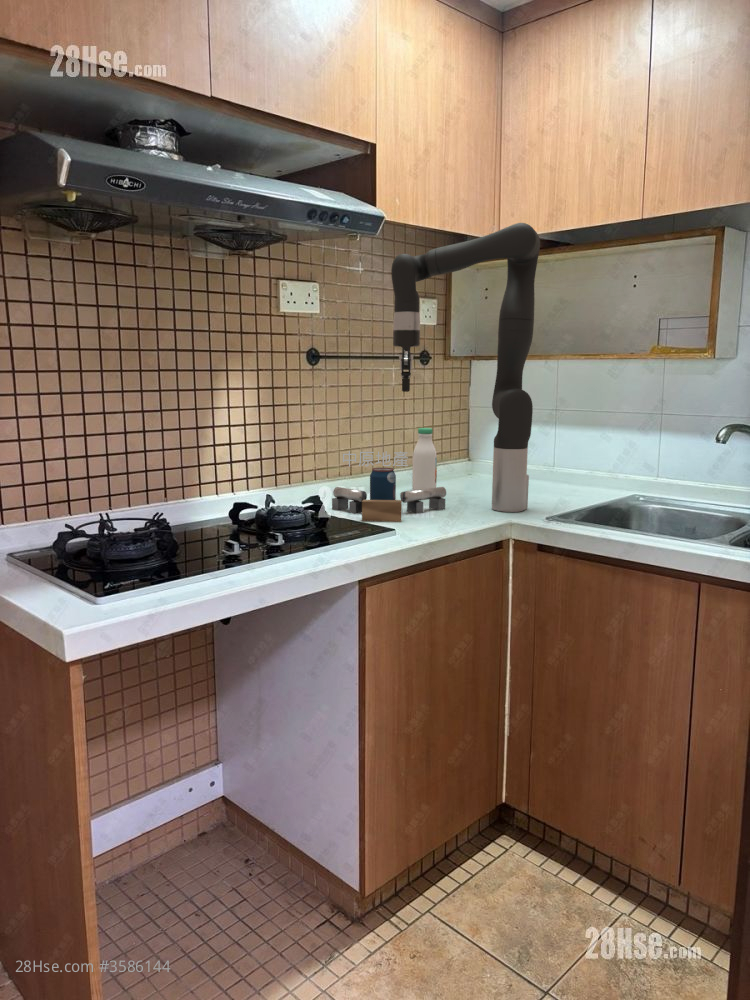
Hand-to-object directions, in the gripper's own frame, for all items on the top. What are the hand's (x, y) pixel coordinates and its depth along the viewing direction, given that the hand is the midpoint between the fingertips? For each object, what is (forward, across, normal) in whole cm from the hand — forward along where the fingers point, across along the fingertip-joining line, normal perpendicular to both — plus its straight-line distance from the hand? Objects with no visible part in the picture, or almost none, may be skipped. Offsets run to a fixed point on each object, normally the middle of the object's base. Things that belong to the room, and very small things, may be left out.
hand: (405, 391), depth 204 cm
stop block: (+32, -27, +6) cm, 42 cm away
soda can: (+32, -17, +6) cm, 37 cm away
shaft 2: (+32, -13, -5) cm, 35 cm away
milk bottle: (+32, +21, -6) cm, 39 cm away
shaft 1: (+32, -15, +15) cm, 38 cm away
